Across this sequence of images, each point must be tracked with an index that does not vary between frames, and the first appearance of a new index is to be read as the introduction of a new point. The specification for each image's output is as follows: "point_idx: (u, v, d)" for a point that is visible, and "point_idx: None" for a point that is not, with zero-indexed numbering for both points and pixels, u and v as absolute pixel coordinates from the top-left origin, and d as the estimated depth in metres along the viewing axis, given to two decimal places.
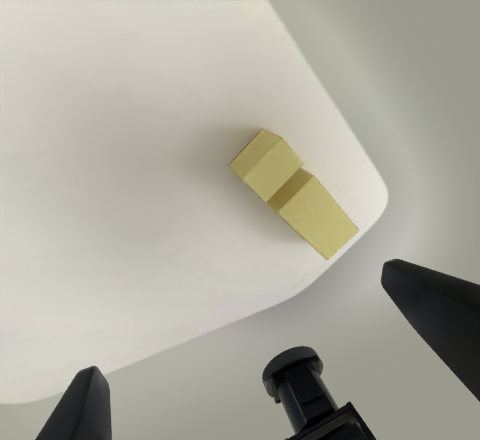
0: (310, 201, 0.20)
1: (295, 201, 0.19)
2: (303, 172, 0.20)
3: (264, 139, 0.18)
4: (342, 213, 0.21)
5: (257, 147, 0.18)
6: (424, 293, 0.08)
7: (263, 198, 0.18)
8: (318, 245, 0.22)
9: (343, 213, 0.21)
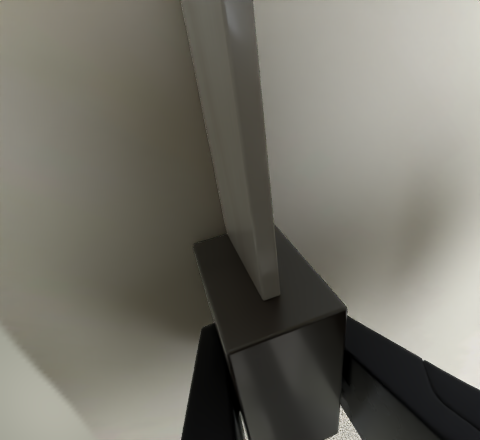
0: None
1: None
2: None
3: None
4: None
5: None
6: None
7: None
8: None
9: None
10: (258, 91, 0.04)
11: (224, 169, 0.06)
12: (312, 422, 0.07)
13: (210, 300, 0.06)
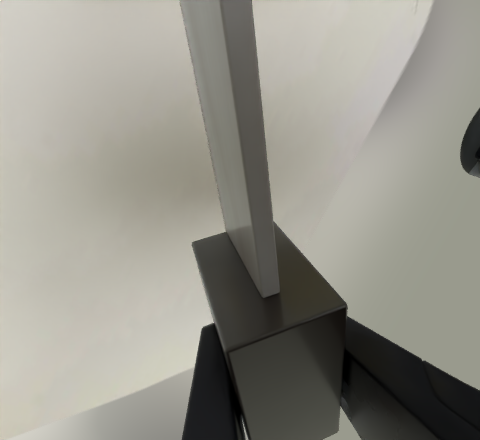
0: None
1: None
2: None
3: None
4: None
5: None
6: None
7: None
8: None
9: None
10: (256, 84, 0.04)
11: (223, 165, 0.06)
12: (312, 420, 0.07)
13: (209, 298, 0.06)
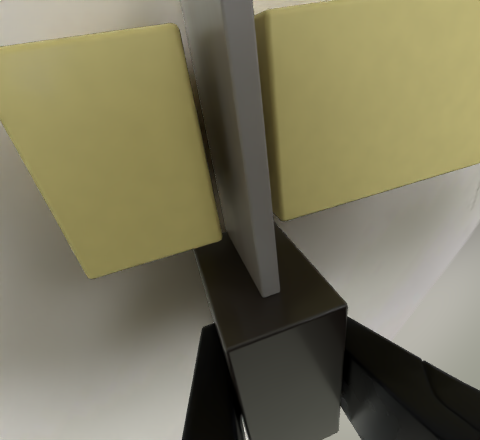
0: (345, 95, 0.05)
1: (299, 147, 0.05)
2: None
3: None
4: None
5: None
6: None
7: (204, 242, 0.05)
8: None
9: None
10: (257, 83, 0.04)
11: (223, 165, 0.06)
12: (313, 420, 0.07)
13: (209, 297, 0.06)
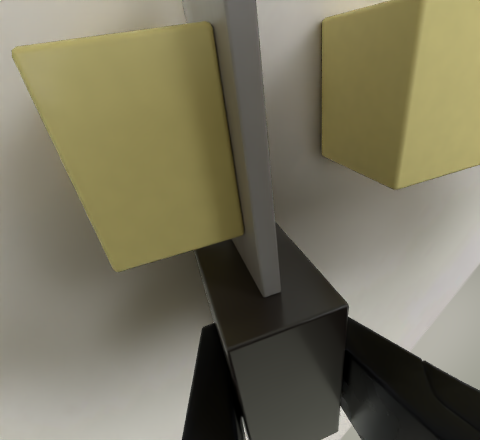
0: (469, 71, 0.05)
1: (424, 118, 0.06)
2: (373, 17, 0.05)
3: None
4: None
5: None
6: None
7: (227, 237, 0.05)
8: None
9: None
10: (260, 83, 0.04)
11: None
12: (312, 420, 0.07)
13: (210, 297, 0.06)
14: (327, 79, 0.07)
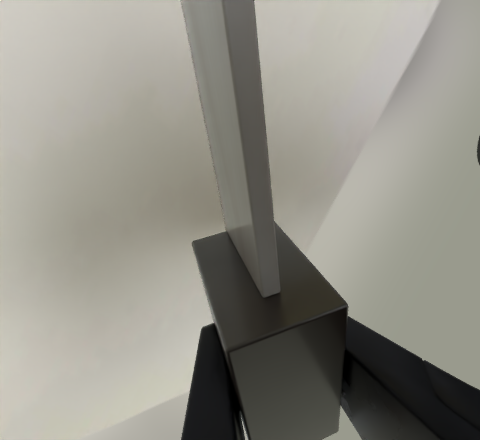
0: None
1: None
2: None
3: None
4: None
5: None
6: None
7: None
8: None
9: None
10: (258, 83, 0.04)
11: (223, 164, 0.06)
12: (313, 420, 0.07)
13: (209, 297, 0.06)
14: None
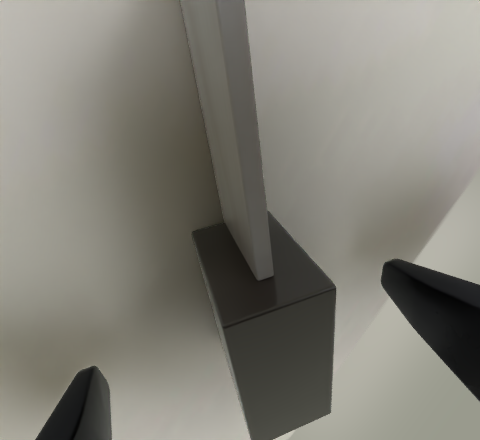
0: None
1: None
2: None
3: None
4: None
5: None
6: (424, 293, 0.08)
7: None
8: None
9: None
10: (249, 80, 0.04)
11: (220, 157, 0.06)
12: (305, 400, 0.07)
13: (207, 281, 0.06)
14: None
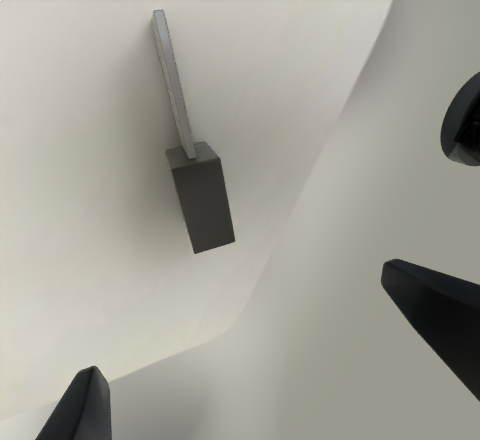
0: None
1: None
2: None
3: None
4: None
5: None
6: (424, 293, 0.08)
7: None
8: None
9: None
10: (176, 71, 0.12)
11: (173, 106, 0.14)
12: (218, 226, 0.15)
13: (168, 161, 0.14)
14: None
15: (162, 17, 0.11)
